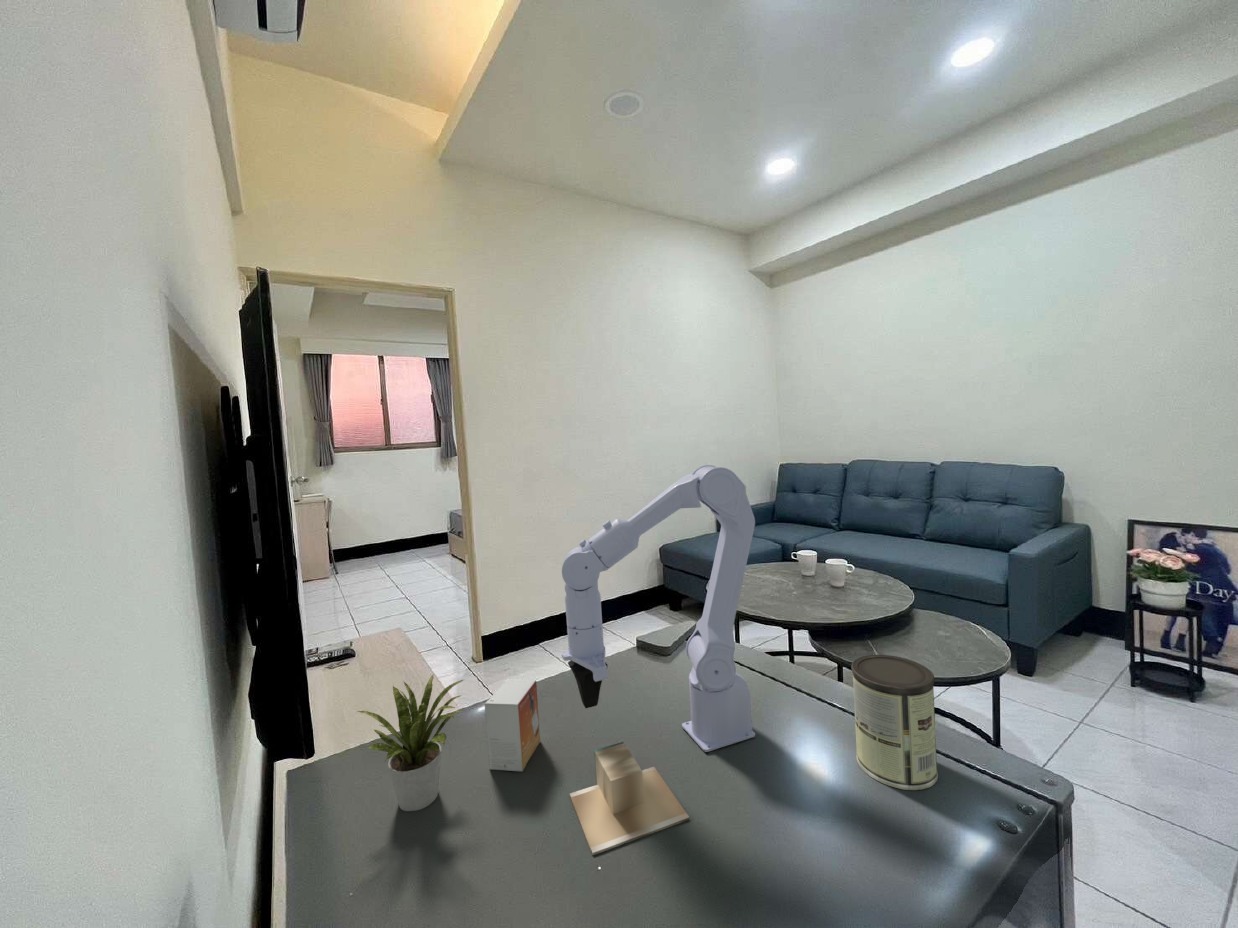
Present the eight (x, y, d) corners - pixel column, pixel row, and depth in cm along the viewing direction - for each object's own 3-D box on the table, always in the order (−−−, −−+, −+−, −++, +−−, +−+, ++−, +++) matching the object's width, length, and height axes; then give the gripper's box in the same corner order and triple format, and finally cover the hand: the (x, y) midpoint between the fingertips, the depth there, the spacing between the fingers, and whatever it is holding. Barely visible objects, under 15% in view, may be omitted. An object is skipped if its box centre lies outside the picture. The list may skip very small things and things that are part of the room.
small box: (522, 773, 73) (517, 705, 73) (488, 770, 74) (483, 703, 74) (541, 740, 81) (537, 679, 81) (510, 738, 82) (505, 677, 82)
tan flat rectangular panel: (654, 768, 72) (654, 766, 72) (689, 819, 62) (689, 817, 62) (569, 795, 68) (569, 793, 68) (592, 855, 58) (592, 852, 58)
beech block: (623, 741, 71) (642, 770, 65) (624, 771, 72) (644, 803, 65) (594, 750, 70) (610, 780, 63) (596, 780, 70) (612, 814, 63)
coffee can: (867, 735, 77) (863, 648, 76) (944, 761, 70) (941, 665, 69) (845, 769, 70) (841, 673, 69) (929, 802, 62) (925, 696, 62)
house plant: (498, 772, 74) (491, 667, 73) (436, 846, 60) (426, 718, 60) (422, 758, 78) (414, 658, 78) (349, 823, 65) (339, 704, 64)
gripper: (550, 613, 84) (555, 690, 84) (572, 644, 70) (578, 735, 71) (589, 606, 86) (594, 681, 87) (618, 634, 73) (623, 722, 73)
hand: (590, 704), depth 79 cm, fingers closed
